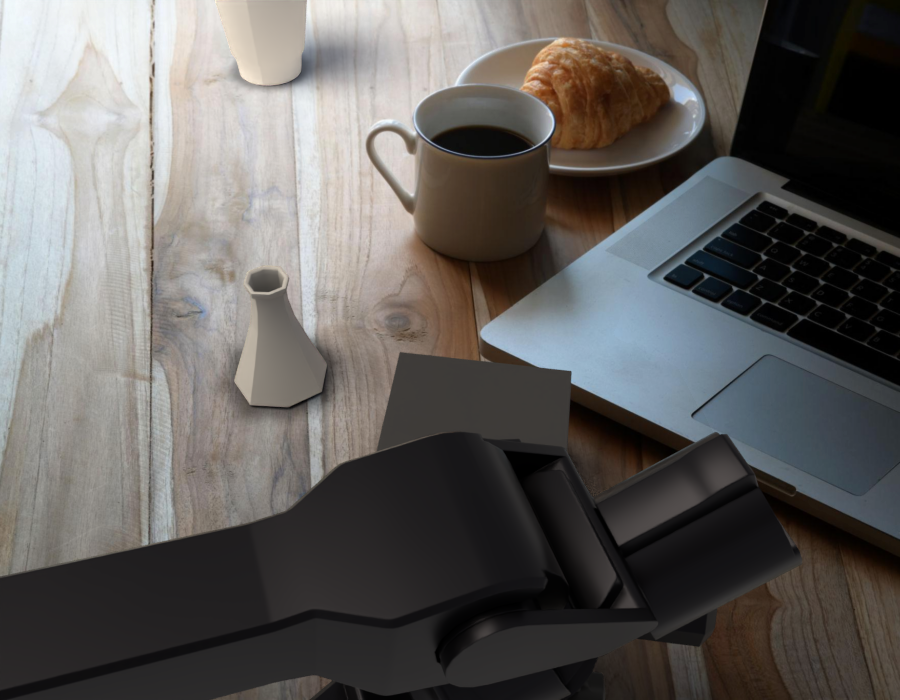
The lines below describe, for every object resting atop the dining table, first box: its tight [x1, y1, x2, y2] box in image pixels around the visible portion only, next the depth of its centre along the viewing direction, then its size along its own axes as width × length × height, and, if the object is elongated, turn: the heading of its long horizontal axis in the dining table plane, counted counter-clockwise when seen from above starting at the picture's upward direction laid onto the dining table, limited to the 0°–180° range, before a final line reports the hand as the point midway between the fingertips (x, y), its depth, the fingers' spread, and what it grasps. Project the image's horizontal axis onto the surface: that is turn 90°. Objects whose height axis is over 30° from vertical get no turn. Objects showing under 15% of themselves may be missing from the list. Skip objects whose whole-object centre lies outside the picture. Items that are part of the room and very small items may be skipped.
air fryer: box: [375, 351, 572, 452], centre depth 61 cm, size 12×12×9 cm
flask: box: [233, 264, 328, 408], centre depth 69 cm, size 7×7×10 cm
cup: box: [214, 0, 308, 87], centre depth 99 cm, size 12×12×16 cm
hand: (523, 522), depth 54 cm, fingers closed, pressing on air fryer, fryer drawer
